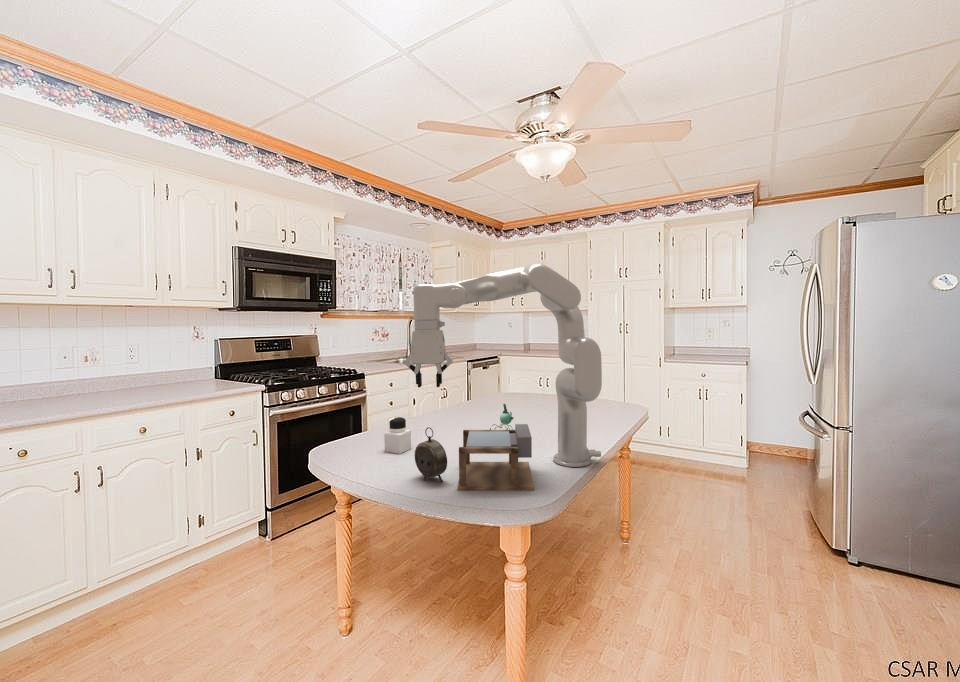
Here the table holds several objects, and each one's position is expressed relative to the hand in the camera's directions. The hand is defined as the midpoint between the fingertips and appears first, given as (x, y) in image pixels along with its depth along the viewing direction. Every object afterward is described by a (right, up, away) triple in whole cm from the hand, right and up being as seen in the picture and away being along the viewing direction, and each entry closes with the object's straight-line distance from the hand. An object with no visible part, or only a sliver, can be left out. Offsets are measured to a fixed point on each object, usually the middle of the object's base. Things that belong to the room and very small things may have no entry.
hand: (429, 386), depth 134 cm
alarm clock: (0, -29, +2) cm, 29 cm away
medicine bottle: (-15, -27, +31) cm, 44 cm away
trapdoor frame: (+20, -28, +4) cm, 35 cm away
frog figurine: (+25, -26, +47) cm, 59 cm away
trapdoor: (+21, -20, +4) cm, 29 cm away
